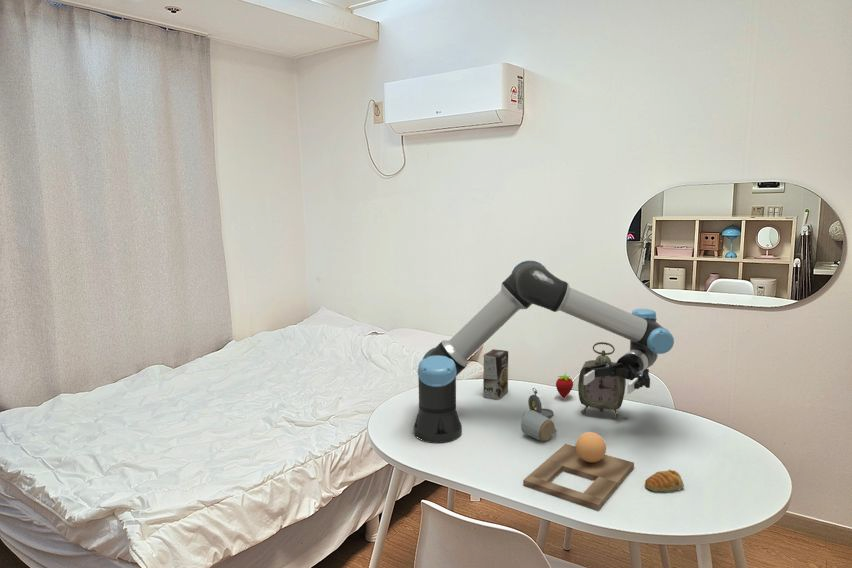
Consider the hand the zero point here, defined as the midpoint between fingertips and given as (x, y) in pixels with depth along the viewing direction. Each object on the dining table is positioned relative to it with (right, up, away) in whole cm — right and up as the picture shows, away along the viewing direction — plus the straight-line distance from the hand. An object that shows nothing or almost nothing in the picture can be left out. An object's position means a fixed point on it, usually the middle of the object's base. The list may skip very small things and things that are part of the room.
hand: (606, 384), depth 164 cm
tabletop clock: (+8, -15, +31) cm, 36 cm away
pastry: (+10, -24, -15) cm, 30 cm away
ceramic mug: (-16, -19, +15) cm, 29 cm away
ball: (-6, -16, -5) cm, 18 cm away
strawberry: (-1, -13, +45) cm, 47 cm away
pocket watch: (-13, -16, +31) cm, 37 cm away
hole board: (-10, -23, -10) cm, 27 cm away
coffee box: (-25, -13, +50) cm, 57 cm away
